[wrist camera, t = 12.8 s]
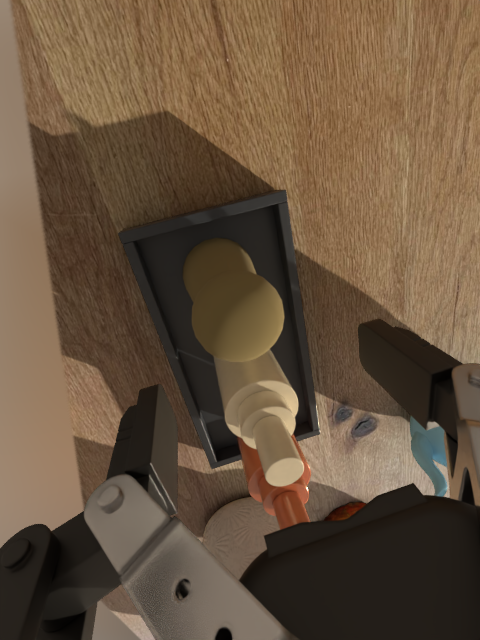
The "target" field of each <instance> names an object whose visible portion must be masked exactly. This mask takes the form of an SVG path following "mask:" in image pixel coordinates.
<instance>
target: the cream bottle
mask: <svg viewBox="0 0 480 640" xmlns="http://www.w3.org/2000/svg"><path fill="white" fill-rule="evenodd" d="M213 360H214V365H215V371H216V376H217V381H218V386H219V391H220V396H221V401H222V406H223V412H224V417H225V421H226V424H227V426H228V428H229V429H230V430H231V431H232V432H233V433H234V434H235V435H237V436H238V437H240V438H242V439H243V441H244V442H245V443H246V444H247V445H248V446H249V447H251V448H254V449H257V452H258V455H259V459H260V462H261V465H262V469H263V472H264V476H265V479H266V481H267V482H268V483H269V484H271V485H273V486H277V487H281V486H287V485H290V484H292V483H294V482H295V481H297V480H298V479H299V478H300V477H301V475H302V474H303V471H304V464H303V462H302V459H301V457H300V455H299V453H298V451H297V448H296V446H295V444H294V442H293V439H292V437H291V435H292V434H293V432H294V430H295V425H296V421H295V416H296V414H297V411H298V398H297V395H296V393H295V391H294V390H293V388H292V386H291V384H290V382H289V381H288V379H287V377H286V375H285V374H284V372H283V370H282V368H281V367H280V365H279V363H278V361H277V359H276V358H275V356H274V354H273V352H272V351H271V349H269V350H268V351H267V352H266V353H264V354H263V355H261V356H259V357H258V358H256V359H252V360H249V361H245V362H229V361H225V360H222V359H218V358H216V357H214V356H213Z"/></svg>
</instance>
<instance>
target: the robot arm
mask: <svg viewBox="0 0 480 640" xmlns="http://www.w3.org/2000/svg"><path fill="white" fill-rule="evenodd" d="M358 338H359V357H360V361H361V364H362V366H363V368H364V369H365V371H366V372H367V373H368V374H369V375H370V376H371V377H372V378H373V379H374V380H375V381H376V382H377V383H378V384H379V385H380V386H382V387H383V388H384V389H385V390H386V391H387V392H388V393H389V394H390V395H391V396H392V397H393V398H394V399H395V400H396V401H397V402H398V403H399V404H400V405H401V406H402V407H403V408H404V409H405V410H406V411H407V412H408V413H409V414H410V415H411V416H412V417H413V418H414V419H415V420H416V421H417V422H418V423H419V424H420V425H421V426H422V427H423V428H424V429H425V430H426V431H427V430H430V429H433V428H436V427H438V426H440V427H441V428H442V429H443V430H444V445H445V453H446V461H447V470H448V478H449V488H450V498H447V497H441V496H431V495H423V494H422V493H421V492H420V491H419V489H418V488H417V487H416V486H415V484H414V483H412V484H410V485H407V486H404V487H401V488H398V489H395V490H392V491H390V492H387V493H384V494H381V495H378V496H377V497H375V498H374V499H373V500H371V501H370V502H369V503H367V504H366V505H365V506H363V507H362V508H361V509H359V510H358V511H357V512H356V513H354V514H353V515H352V516H350V517H349V518H347V519H345V520H335V521H316V522H301V523H298V524H295V525H292V526H290V527H287V528H284V529H281V530H278V531H275V532H272V533H270V534H267V535H264V539H265V543H266V547H267V549H266V550H265V551H264V552H262V553H261V554H260V555H259V556H258V557H256V558H255V559H254V560H253V561H252V562H251V564H250V565H249V566H248V567H247V569H246V570H245V571H244V573H243V574H242V576H241V578H240V579H239V580H238V579H237V578H236V577H235V576H234V575H233V574H232V573H231V572H230V571H229V570H228V569H227V568H226V567H225V566H224V565H223V564H222V563H221V562H220V561H219V560H218V559H217V558H216V557H215V556H214V555H213V554H212V553H211V552H210V551H209V550H208V549H207V548H206V547H205V545H204V544H203V543H202V542H201V541H200V540H199V539H198V538H197V537H196V536H195V535H194V534H193V533H192V532H191V531H190V530H189V529H188V528H187V527H186V526H185V525H184V524H183V523H182V522H181V521H180V520H179V519H178V518H177V517H175V516H174V517H173V518H172V517H170V515H173V514H176V513H178V427H177V421H176V417H175V414H174V412H173V409H172V407H171V405H170V402H169V400H168V398H167V396H166V393H165V391H164V389H163V387H162V385H161V384H157V385H154V386H151V387H147V388H144V389H141V390H140V391H139V396H138V402H137V405H134V406H131V407H129V408H128V409H127V411H126V412H125V414H124V415H123V417H122V418H121V421H120V425H119V429H118V431H119V433H117V438H116V443H115V446H114V450H113V454H112V458H111V462H110V466H109V470H108V474H107V478H106V481H104V482H103V483H102V484H101V485H99V486H98V487H97V488H96V489H95V491H94V492H93V493H92V494H91V496H90V497H89V499H88V501H87V503H86V505H85V509H84V511H83V512H82V513H80V514H78V515H77V516H75V517H74V518H72V519H71V520H69V521H67V522H66V523H64V524H63V525H61V526H60V527H58V528H56V529H55V530H53V531H51V530H50V529H49V528H48V527H47V526H46V525H43V524H34V525H31V526H29V527H26V528H24V529H23V530H21V531H19V532H18V533H16V534H15V535H14V536H13V537H11V538H10V539H9V540H8V541H7V542H6V543H5V544H4V545H3V546H2V547H1V548H0V640H92V634H93V628H94V622H95V614H96V608H97V602H98V601H99V600H100V599H102V598H103V597H104V596H106V595H107V594H108V593H110V592H111V591H113V590H114V589H115V588H117V587H118V586H119V585H121V584H122V586H123V587H124V589H125V591H126V592H127V594H128V595H129V597H130V599H131V600H132V602H133V604H134V605H135V607H136V609H137V610H138V612H139V613H140V615H141V617H142V618H143V620H144V622H145V623H146V625H147V627H148V628H149V630H150V631H151V633H152V635H153V636H154V638H155V640H480V364H477V363H469V364H462V363H461V362H459V361H458V360H456V359H454V358H453V357H451V356H450V355H448V354H446V353H445V352H443V351H442V350H440V349H438V348H437V347H435V346H434V345H430V343H429V342H427V341H426V340H424V339H421V337H419V336H418V335H416V334H414V333H413V332H411V331H409V330H406V329H403V328H399V327H396V326H395V327H392V326H391V325H389V324H387V323H386V322H384V321H383V320H381V319H375V320H372V321H368V322H365V323H362V324H360V325H359V327H358Z"/></svg>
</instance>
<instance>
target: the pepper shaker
mask: <svg viewBox="0 0 480 640" xmlns="http://www.w3.org/2000/svg"><path fill="white" fill-rule="evenodd" d="M183 281H184V284H185V287H186V290H187V291H188V293H189V295H190V297H191V299H192V301H193V306H192V327H193V330H194V333H195V336H196V338H197V339H198V341H199V342H200V343H201V345H202V346H203V347H204V349H205V350H206V351H207V352H209V353H210V354H211V355H213V356H214V357H216V358H218V359H222V360H225V361H229V362H245V361H249V360H252V359H256V358H258V357H259V356H261V355H263V354H264V353H266V352H267V351H268V350H269V349H270V348H271V347H272V346H273V345H274V344H275V343H276V341H277V339H278V337H279V335H280V334H281V332H282V329H283V323H284V318H285V317H284V310H283V304H282V300H281V298H280V296H279V294H278V293H277V291H276V289H275V288H274V287H273V286H272V285H271V284H270V283H269V282H268V281H266V280H265V279H264V278H263V277H262V276H259V275H257V274H256V271H255V269H254V266H253V263H252V260H251V259H250V257H249V255H248V253H247V251H246V250H245V249H244V248H242V247H241V246H240V245H239V244H238V243H236V242H234V241H231V240H229V239H225V238H213V239H209V240H205V241H203V242H201V243H200V244H198V245H196V246H195V247H194V248H193V249H192V250H191V252H190V253H189V254H188V255H187V257H186V260H185V263H184V265H183Z"/></svg>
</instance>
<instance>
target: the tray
mask: <svg viewBox="0 0 480 640" xmlns="http://www.w3.org/2000/svg"><path fill="white" fill-rule="evenodd" d="M118 235H119V237H120V240H121V242H122V244H123V247H124V250H125V252H126V255H127V257H128V260H129V262H130V265H131V267H132V270H133V272H134V275H135V277H136V280H137V282H138V285H139V287H140V290H141V292H142V295H143V297H144V300H145V302H146V305H147V307H148V310H149V312H150V315H151V317H152V320H153V322H154V325H155V327H156V330H157V333H158V335H159V338H160V340H161V343H162V345H163V348H164V350H165V353H166V355H167V358H168V360H169V363H170V365H171V368H172V370H173V373H174V375H175V378H176V380H177V383H178V385H179V388H180V390H181V393H182V395H183V398H184V400H185V403H186V405H187V408H188V410H189V413H190V415H191V418H192V420H193V423H194V425H195V428H196V431H197V433H198V436H199V438H200V441H201V443H202V446H203V448H204V451H205V453H206V456H207V458H208V461H209V463H210V466H211V468H212V469H214V468H217V467H220V466H223V465H226V464H229V463H232V462H235V461H238V460H241V456H240V451H239V447H238V443H237V438H236V435H235V434H234V433H233V432H232V431H231V430H230V429H229V428H228V426H227V424H226V421H225V417H224V412H223V406H222V401H221V396H220V391H219V386H218V381H217V376H216V371H215V365H214V360H213V355H211V354H210V353H209V352H207V351H206V350H205V349H204V347H203V346H202V345H201V343H200V342H199V341H198V339H197V338H196V336H195V333H194V330H193V327H192V306H193V301H192V299H191V297H190V295H189V293H188V291H187V290H186V287H185V284H184V281H183V265H184V263H185V260H186V257H187V255H188V254H189V253H190V252H191V250H192V249H193V248H194V247H195V246H196V245H198V244H200V243H201V242H203V241H205V240H209V239H213V238H225V239H229V240H231V241H234V242H236V243H238V244H239V245H240V246H241V247H242V248H244V249H245V250H246V251H247V253H248V255H249V257H250V259H251V260H252V263H253V266H254V269H255V271H256V274H257V275H259V276H262V277H263V278H264V279H265V280H266V281H268V282H269V283H270V284H271V285H272V286H273V287H274V288H275V289H276V291H277V293H278V294H279V296H280V298H281V300H282V304H283V310H284V317H285V318H284V323H283V329H282V332H281V334H280V335H279V337H278V339H277V341H276V343H275V344H274V345H273V346H272V347H271V348H270V349H271V351H272V352H273V354H274V356H275V358H276V359H277V361H278V363H279V365H280V367H281V368H282V370H283V372H284V374H285V375H286V377H287V379H288V381H289V382H290V384H291V386H292V388H293V390H294V391H295V393H296V395H297V398H298V411H297V414H296V416H295V421H296V425H295V430H294V432H293V433H294V435H295V437H296V439H297V441H300V440H303V439H306V438H309V437H313V436H316V435H319V434H320V428H319V421H318V414H317V407H316V400H315V393H314V386H313V379H312V371H311V364H310V357H309V350H308V343H307V336H306V329H305V322H304V315H303V308H302V301H301V294H300V287H299V280H298V273H297V266H296V259H295V252H294V245H293V238H292V231H291V224H290V217H289V210H288V203H287V194H286V190H274V191H270V192H266V193H262V194H258V195H254V196H251V197H247V198H243V199H239V200H235V201H231V202H227V203H223V204H219V205H216V206H212V207H208V208H204V209H200V210H196V211H192V212H188V213H184V214H181V215H177V216H173V217H169V218H165V219H161V220H157V221H153V222H149V223H145V224H142V225H138V226H134V227H130V228H126V229H123V230H122V231H120V232H119V233H118Z"/></svg>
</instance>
